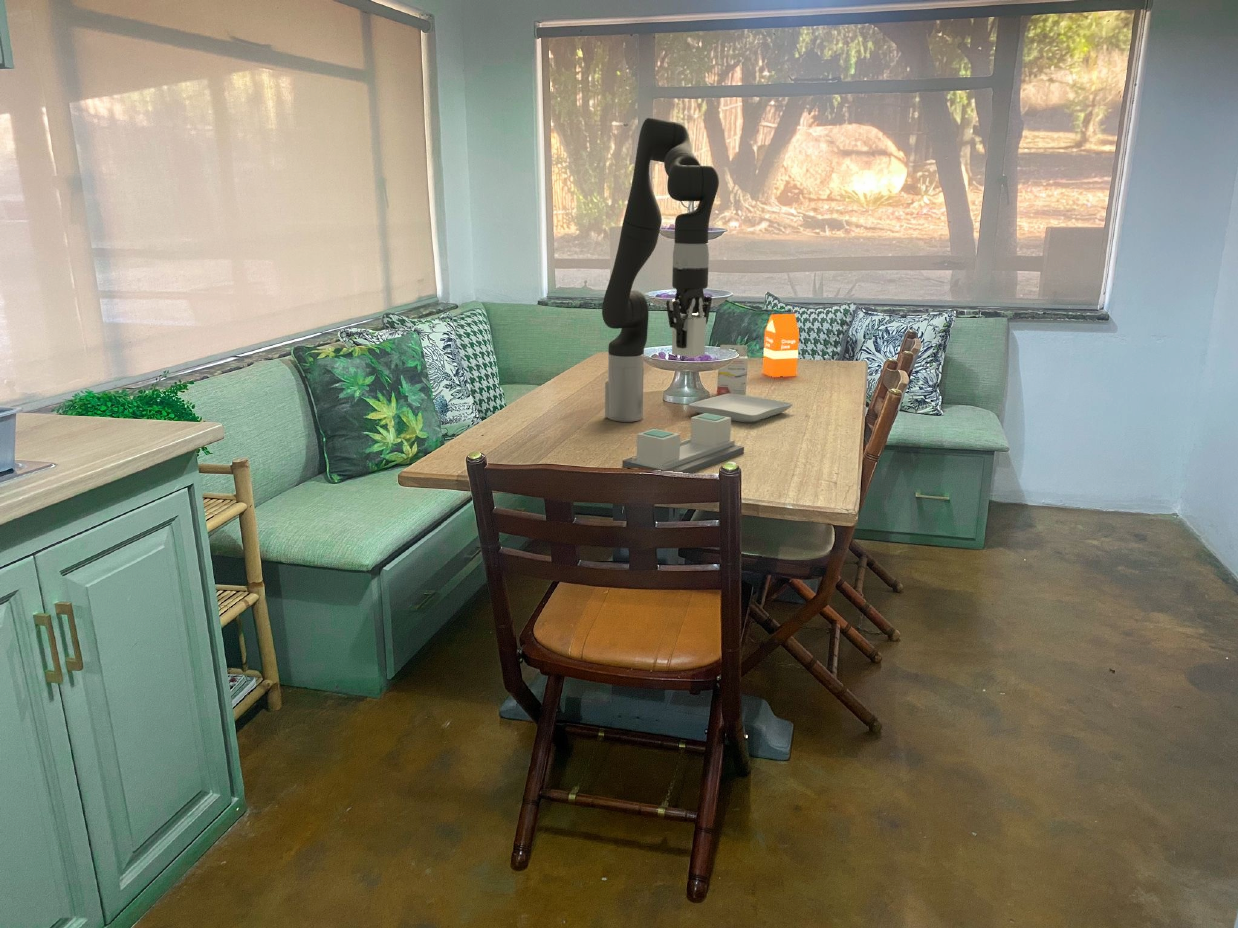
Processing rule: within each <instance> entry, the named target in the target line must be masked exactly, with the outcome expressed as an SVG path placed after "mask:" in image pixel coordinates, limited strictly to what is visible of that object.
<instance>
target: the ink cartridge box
mask: <svg viewBox="0 0 1238 928" xmlns="http://www.w3.org/2000/svg"><path fill="white" fill-rule="evenodd" d="M720 349H726V350H729V351H730V350H732V349H735V350H733V351H734V352H737V353H738V354H739V358H736V360H734V361H733V362H732V363H731V364H729V365H728V366H726V367H724V368H722V369H719V370H718V369H717V389H716V393H717V394H716V396H720V395H724V394H728V393H731V394H739V395H746V396H747V382H748V381H747V379H748V362H749V361H748V359H749V357H748V346H747V344H746V345H741V344H740V345H738V344H720V346H719V350H720Z"/></svg>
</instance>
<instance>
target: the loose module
mask: <svg viewBox="0 0 1238 928" xmlns="http://www.w3.org/2000/svg"><path fill="white" fill-rule="evenodd" d="M675 321H676V319H675V318H674V322H675ZM681 321H682V324H683V319H681ZM706 328H707V324H706V317H704V316H702V317H694V316H691V319H689V320H688V325H687V330H686V331H687V346H686V348H678V347H677V346H676V330H675V328H672V335H671V337H672V338H671V339H672V340H671V355H673V356H681V357H689V358H696V357H700V356H705V355H706V336H707V335H706V331H707V329H706Z"/></svg>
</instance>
